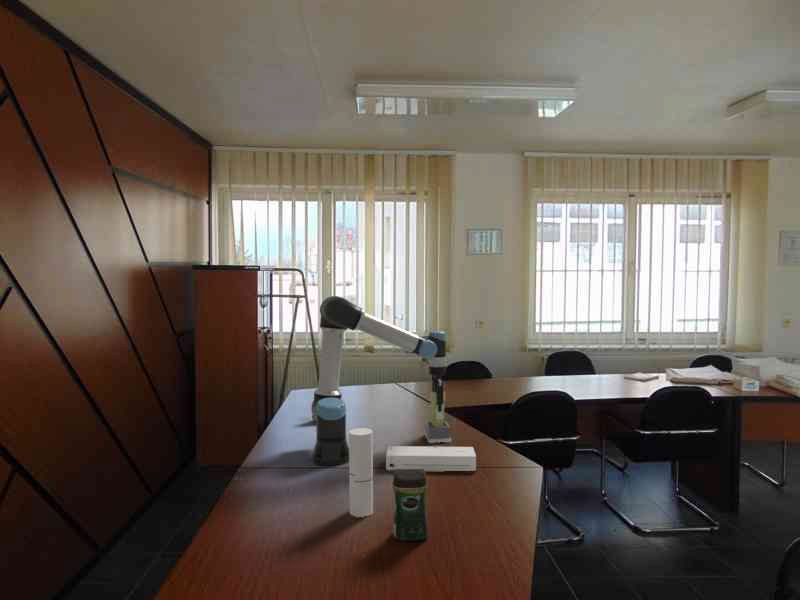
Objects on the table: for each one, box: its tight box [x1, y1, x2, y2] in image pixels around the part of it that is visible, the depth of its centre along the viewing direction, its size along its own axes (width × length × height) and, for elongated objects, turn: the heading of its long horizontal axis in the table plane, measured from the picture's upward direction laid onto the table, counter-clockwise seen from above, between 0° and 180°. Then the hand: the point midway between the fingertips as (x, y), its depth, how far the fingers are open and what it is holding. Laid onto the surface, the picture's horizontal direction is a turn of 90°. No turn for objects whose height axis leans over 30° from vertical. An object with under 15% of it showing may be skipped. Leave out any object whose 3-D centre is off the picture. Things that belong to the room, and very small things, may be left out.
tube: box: [429, 391, 447, 427], centre depth 228 cm, size 6×5×20 cm
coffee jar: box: [392, 469, 429, 542], centre depth 141 cm, size 10×8×19 cm
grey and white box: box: [424, 420, 452, 444], centre depth 228 cm, size 12×10×6 cm
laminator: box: [384, 445, 478, 472], centre depth 194 cm, size 34×12×6 cm, turn 88°
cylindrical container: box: [348, 427, 374, 518], centre depth 155 cm, size 7×7×25 cm
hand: (437, 416), depth 228 cm, fingers open, 8 cm apart
